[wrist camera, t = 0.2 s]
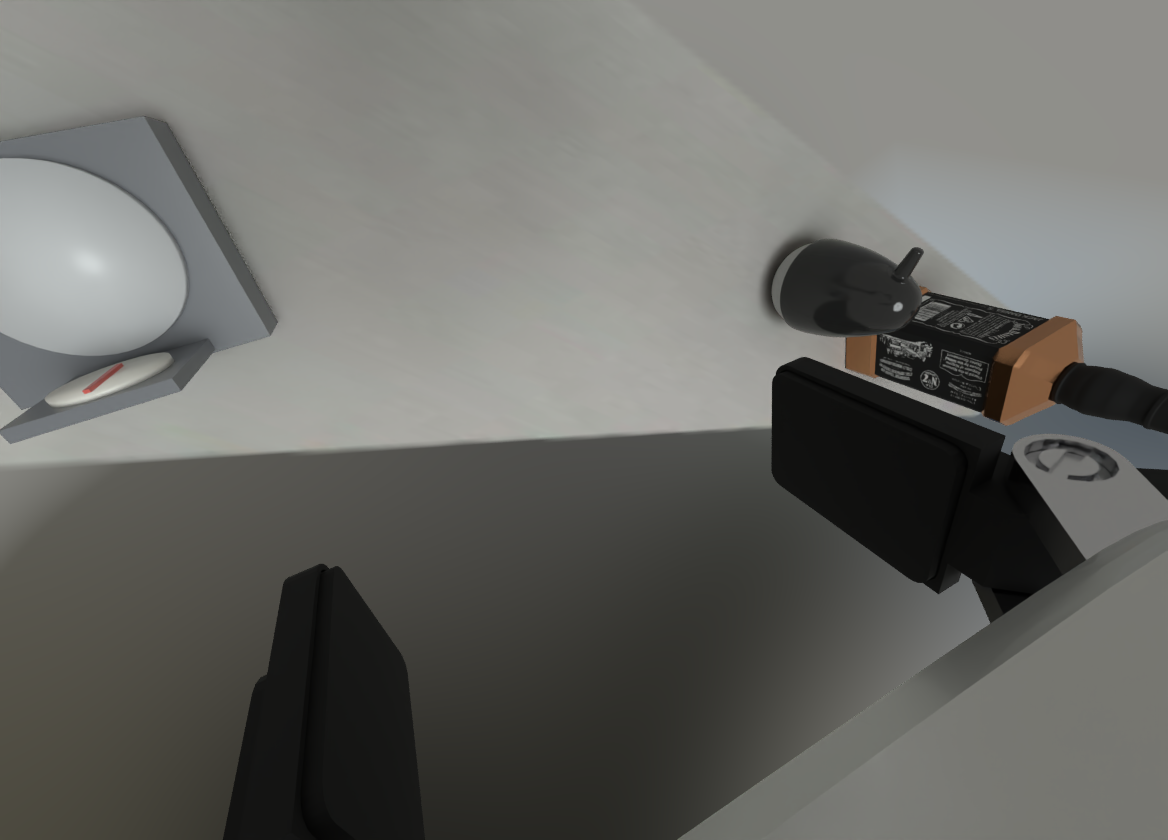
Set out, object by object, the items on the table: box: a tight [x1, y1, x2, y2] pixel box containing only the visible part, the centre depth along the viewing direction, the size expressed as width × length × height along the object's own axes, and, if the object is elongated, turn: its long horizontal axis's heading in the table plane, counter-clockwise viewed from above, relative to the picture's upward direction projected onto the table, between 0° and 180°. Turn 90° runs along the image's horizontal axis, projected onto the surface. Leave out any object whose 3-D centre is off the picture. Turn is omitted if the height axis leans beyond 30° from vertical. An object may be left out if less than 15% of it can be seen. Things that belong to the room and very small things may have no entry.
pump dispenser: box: [772, 239, 924, 337], centre depth 50 cm, size 10×10×15 cm
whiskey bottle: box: [846, 286, 1168, 434], centre depth 53 cm, size 10×10×32 cm
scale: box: [0, 116, 278, 444], centre depth 27 cm, size 14×15×12 cm
